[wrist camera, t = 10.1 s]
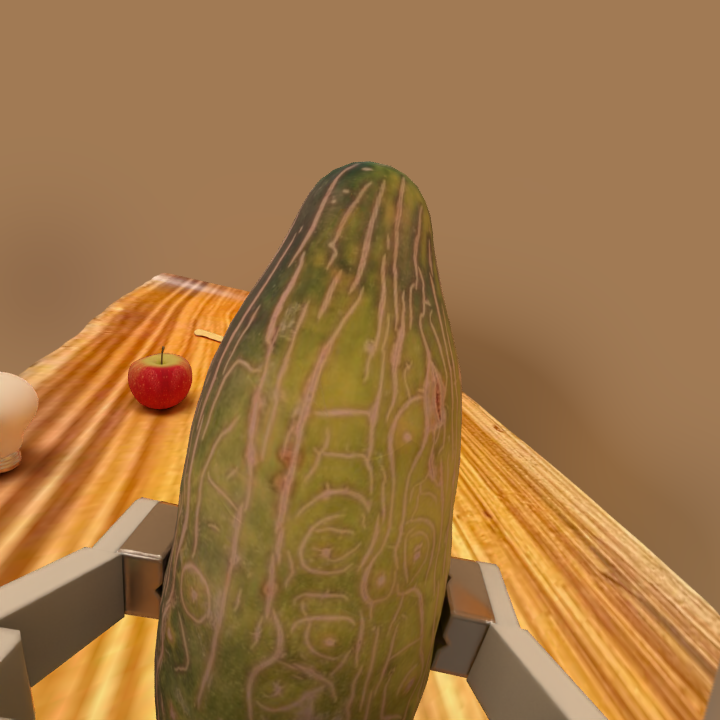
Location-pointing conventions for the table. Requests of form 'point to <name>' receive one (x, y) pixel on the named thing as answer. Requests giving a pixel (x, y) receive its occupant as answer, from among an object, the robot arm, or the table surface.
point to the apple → (160, 380)
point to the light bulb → (14, 417)
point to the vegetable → (320, 476)
